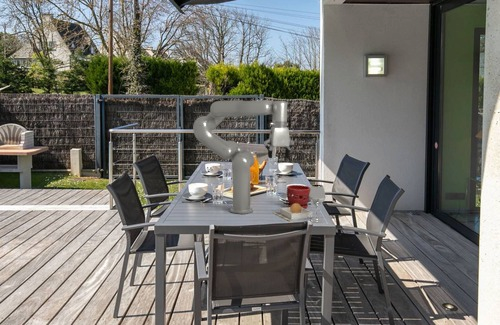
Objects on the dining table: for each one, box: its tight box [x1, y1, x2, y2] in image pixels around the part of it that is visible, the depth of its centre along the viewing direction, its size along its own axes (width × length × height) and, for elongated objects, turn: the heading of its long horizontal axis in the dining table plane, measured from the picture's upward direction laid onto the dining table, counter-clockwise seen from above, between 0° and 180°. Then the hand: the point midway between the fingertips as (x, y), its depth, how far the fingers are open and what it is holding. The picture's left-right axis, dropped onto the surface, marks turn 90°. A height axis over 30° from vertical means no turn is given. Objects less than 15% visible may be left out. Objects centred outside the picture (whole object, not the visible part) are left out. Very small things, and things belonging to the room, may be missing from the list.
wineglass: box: [309, 184, 326, 223], centre depth 245 cm, size 8×8×18 cm
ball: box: [290, 203, 302, 213], centre depth 256 cm, size 6×6×6 cm
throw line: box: [273, 212, 294, 223], centre depth 253 cm, size 20×2×1 cm, turn 22°
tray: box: [278, 206, 313, 221], centre depth 257 cm, size 14×12×3 cm
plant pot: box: [286, 184, 311, 209], centre depth 275 cm, size 13×13×12 cm
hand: (278, 157), depth 257 cm, fingers open, 9 cm apart
